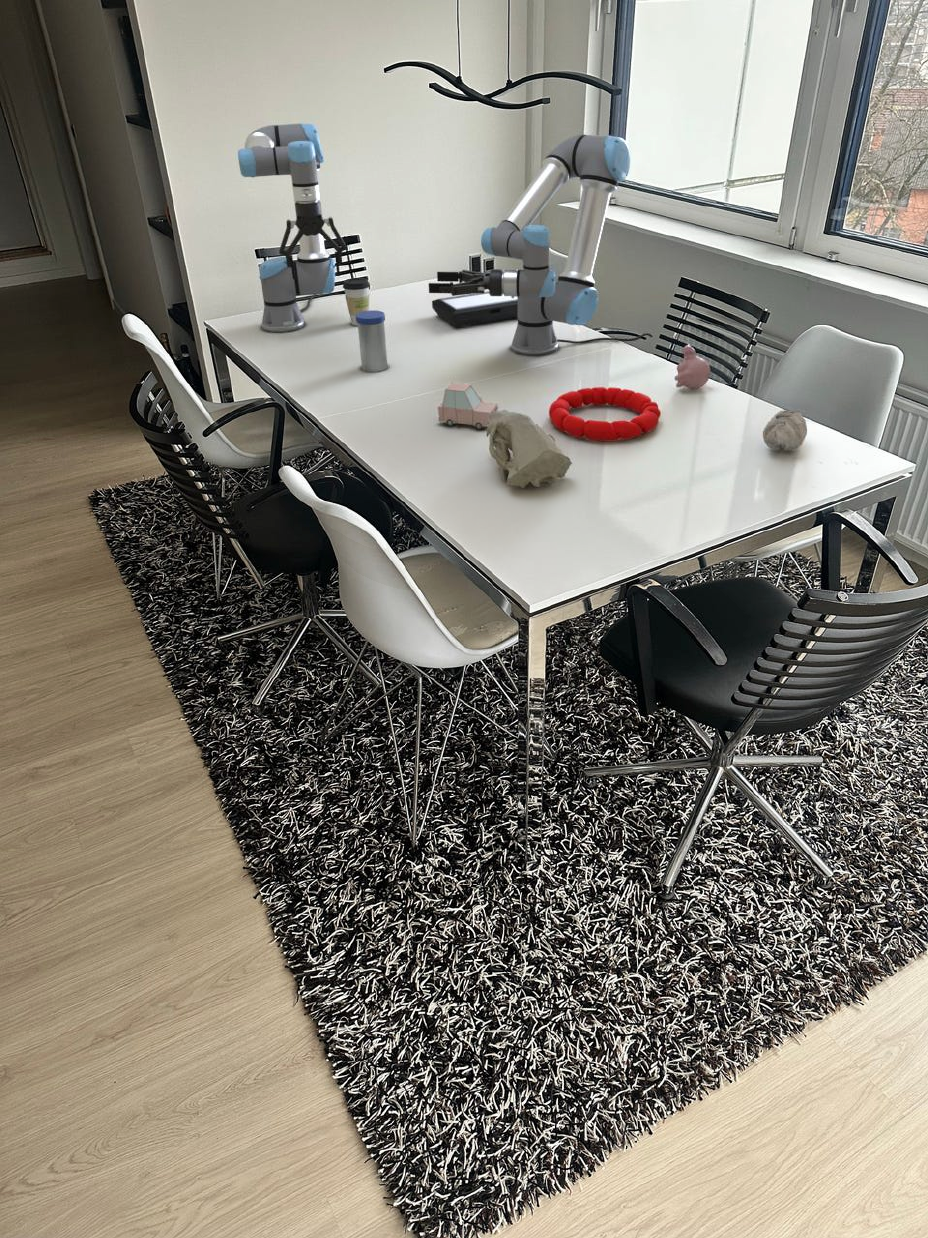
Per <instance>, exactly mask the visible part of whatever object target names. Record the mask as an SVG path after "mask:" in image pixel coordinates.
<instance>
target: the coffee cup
mask: <svg viewBox="0 0 928 1238" xmlns="http://www.w3.org/2000/svg"><path fill="white" fill-rule="evenodd" d="M370 287H371V283H370V282H369V279H367V278H365V277H351V278H347V279H345V280H344V281H343V285H342V288H343V290H344V297H345V301H346V305H347V310H348V314H349V318H350V323H351V325H353V326H357V327H358V323H357V322H356V314H357V313H359V312H363V311H370Z"/></svg>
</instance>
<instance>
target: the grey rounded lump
mask: <svg viewBox="0 0 928 1238" xmlns="http://www.w3.org/2000/svg"><path fill="white" fill-rule="evenodd" d="M807 435H808V426H807V421H806V419H805V418H804V416H803V414H801V412H800V411H799V410H797V411H793V410H779V411H778V412H777V413H775V414H774V415H773V416H772V417H771V419H770V420H769V421H767V423H766V425H765V427H764V428H763V430H762V439H763V442H764V443H765V445H766V446H767V447H768V448H769V449H771V450H774V451H779V450H781V449H783V450H784V451H794V450H797V449H799V448H801V446H802V445H803V444H804V442H805V440H806V437H807Z"/></svg>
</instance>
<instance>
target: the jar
mask: <svg viewBox="0 0 928 1238" xmlns="http://www.w3.org/2000/svg"><path fill="white" fill-rule="evenodd" d="M357 330H358V332H357V333H358V342H359V343H358V344H359V352H360V362H361V363H360V364H361V370H362V371H364V372H367V373H378V372H379V373H380V372H383V371H385V370H387V369H388V357H387V344H386V343H387V341H386V331H385V321H384V322H382V323H379V324H373V325H363V324H359V323H358V326H357Z"/></svg>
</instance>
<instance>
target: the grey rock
mask: <svg viewBox="0 0 928 1238" xmlns="http://www.w3.org/2000/svg"><path fill="white" fill-rule="evenodd" d="M485 436H486V438H487V437H489V438H488V440H489V444H488V445H489V446H488V450H489V454H490V456H491V457H492V458H493V459H494V460H495V462H496V464H497V466H499V468H500V470H501V471H502V472H501V478H502V479H507V480H506V484H507V486H517V487H518V486H519V488H523V489H524V488H526V486H527V485H529V483H531V485H533V486H534V487H536V488H540V485H541V484H542V482H544V483H549V484H550V485H553V484H555V483H556V482H557V480H561V479H563V478H565V476H566V474H567V472H568V471H569V469H570V467H571V466H572V464H573V462H572V461H571V458H570V457H568V456H567V455H565V453H564V451H562V449H561V448H560V446H559V444H557V443H556V439H555V438H554V436H553V435H551V434H550V433H548V432H547V431H546V430H545V429H544V428H542V427H541V426H539V425H538V424H537V423H536V424H535V422H534V421H533V419H532V418H531V417H530V416H529V415H527V414H524V413H519V412H515V411H509V410H507V409H502V410H500V411H499V410H497V411H496V412H492V413H491V414H490V422H488V423H487V427H486V435H485ZM511 453H512V454H511ZM511 455H512V457H513V458H512V460H511ZM507 474H508V475H507Z"/></svg>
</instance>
